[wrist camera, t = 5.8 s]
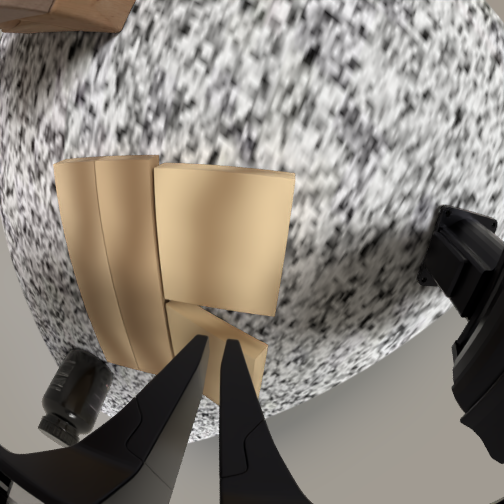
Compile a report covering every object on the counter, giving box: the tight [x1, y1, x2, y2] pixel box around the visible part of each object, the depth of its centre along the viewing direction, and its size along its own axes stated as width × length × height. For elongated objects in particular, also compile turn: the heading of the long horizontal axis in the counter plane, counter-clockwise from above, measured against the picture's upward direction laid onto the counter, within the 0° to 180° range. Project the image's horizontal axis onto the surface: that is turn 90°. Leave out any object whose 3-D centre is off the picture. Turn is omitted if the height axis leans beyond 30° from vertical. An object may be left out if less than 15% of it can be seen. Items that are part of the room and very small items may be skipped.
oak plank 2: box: [166, 300, 268, 405], centre depth 21 cm, size 8×10×2 cm
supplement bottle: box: [38, 349, 113, 447], centre depth 23 cm, size 7×7×12 cm
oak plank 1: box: [154, 163, 295, 317], centre depth 17 cm, size 8×10×2 cm
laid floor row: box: [53, 155, 175, 375], centre depth 20 cm, size 8×20×2 cm, turn 176°
